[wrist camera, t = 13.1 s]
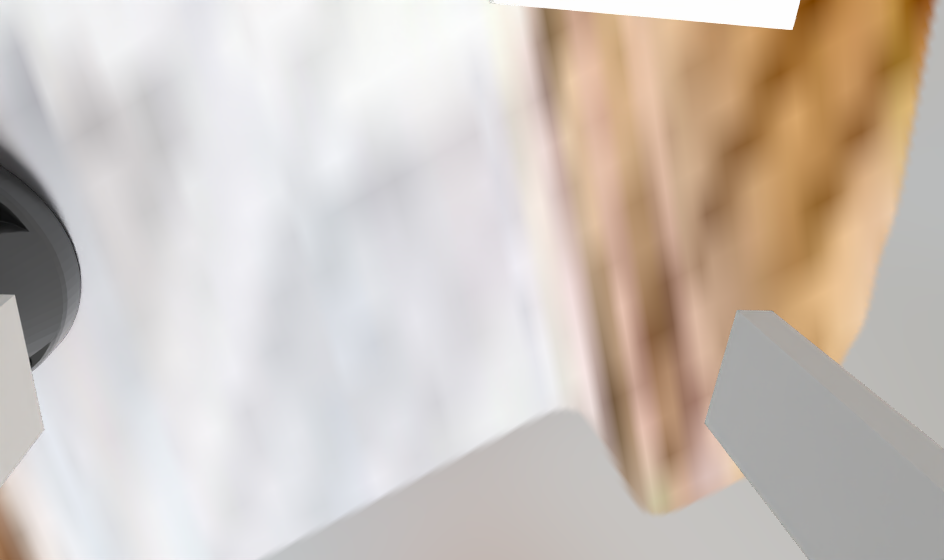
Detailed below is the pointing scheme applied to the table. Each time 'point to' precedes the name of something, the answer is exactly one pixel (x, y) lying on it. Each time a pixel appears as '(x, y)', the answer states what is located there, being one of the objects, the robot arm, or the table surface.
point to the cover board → (684, 10)
